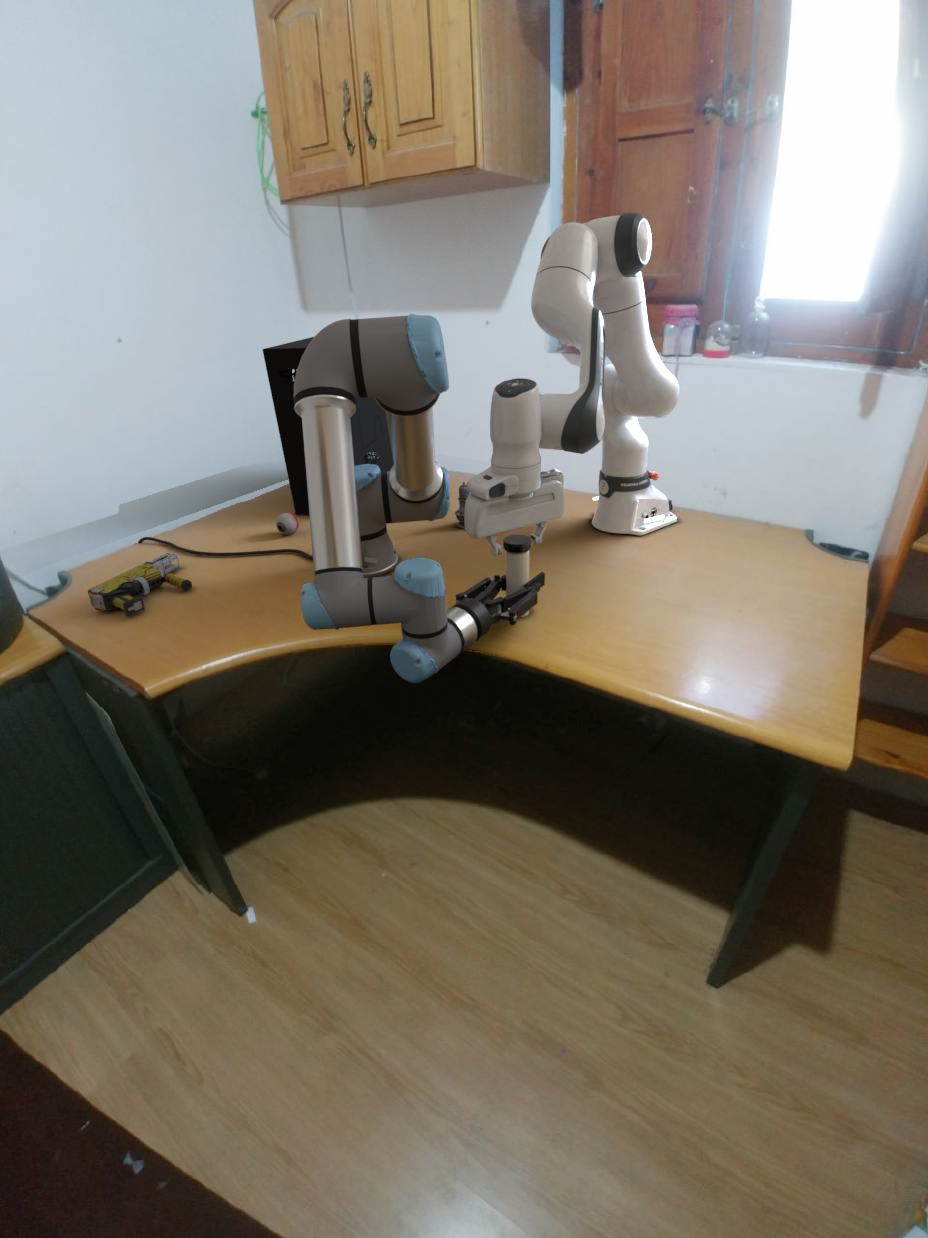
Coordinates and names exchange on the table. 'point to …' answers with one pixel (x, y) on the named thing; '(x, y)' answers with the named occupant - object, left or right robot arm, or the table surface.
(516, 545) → the lid
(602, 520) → the right robot arm
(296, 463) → the black computer case
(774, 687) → the table surface
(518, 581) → the jar
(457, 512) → the grey chess piece
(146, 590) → the toy gun
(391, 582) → the left robot arm
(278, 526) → the eyeball
